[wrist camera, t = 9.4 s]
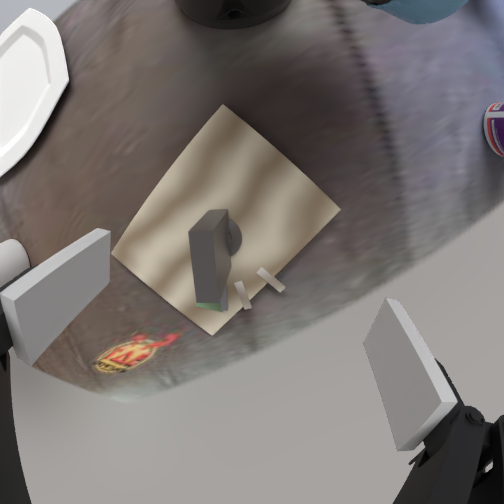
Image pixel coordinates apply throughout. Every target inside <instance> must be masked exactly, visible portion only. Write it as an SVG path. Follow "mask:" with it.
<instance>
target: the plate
mask: <svg viewBox="0 0 504 504" xmlns="http://www.w3.org/2000/svg"><path fill="white" fill-rule="evenodd" d="M68 82H69V75H68V69H67V63H66V58H65V53H64V48H63V44H62V41H61V37H60V35H59V32H58V30H57V27H56V26H55V24H54V23H53V22H52V21H51V20H50V19H49V18H48V17H46V16H45V15H44V14H42V13H40V12H38V11H37V10H34V9H32V8H29V9H27V10H26V11H25V12H24V13H23V14H22V15H20V16H19V17H18V18H17V19H16V20H15V21H14V22H13V23H12V24H11V25H10V26H9V27H8V28H7V29H6V30H5V31H4V32H3V33H2V34H1V35H0V177H1V176H2V175H4V174H5V173H6V172H7V171H8V170H9V169H11V168H12V167H13V166H14V165H15V164H16V163H17V162H18V161H19V160H20V159H21V158H22V157H23V156H24V155H25V154H26V153H27V152H28V150H29V149H30V148H31V147H32V145H33V144H34V142H35V141H36V139H37V138H38V136H39V135H40V133H41V132H42V130H43V128H44V126H45V124H46V123H47V121H48V119H49V117H50V116H51V114H52V112H53V110H54V108H55V106H56V104H57V102H58V101H59V99H60V97H61V95H62V93H63V91H64V90H65V88H66V86H67V84H68Z"/></svg>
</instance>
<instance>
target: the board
mask: <svg viewBox="0 0 504 504" xmlns="http://www.w3.org/2000/svg"><path fill="white" fill-rule="evenodd" d="M217 209H228V218H229V232H230V233H231V235H232V243H231V246H230V250H231V265H232V267H231V270H230V273H229V276H228V279H227V295H228V307H229V308H228V311H221V301H220V303H197V302H196V295H195V287H194V279H193V271H192V263H191V254H190V245H189V235H188V231H189V230H190V229H191V228H192V227H193V226H194V225H195V224H196V223H197V222H198V221H199V220H200V219H201V218H202V217H203V215H204V214H205V213H206V212H207V211H208V210H217ZM340 210H341V209H340V208H339V207H338V206H337V205H336V204H335V203H334V202H333V201H332V200H331V199H330V198H329V197H328V196H327V195H326V194H325V193H324V192H323V191H322V190H321V189H320V188H319V187H317V186H316V185H315V184H314V183H313V182H312V181H311V180H310V179H309V178H308V177H307V176H306V175H305V174H304V173H303V172H302V171H301V170H299V169H298V168H297V167H296V166H295V165H294V164H293V163H292V162H291V161H290V160H288V159H287V158H286V157H285V156H284V155H283V154H282V153H281V152H280V151H278V150H277V149H276V148H275V147H274V146H273V145H272V144H270V143H269V142H268V141H267V140H266V139H265V138H263V137H262V136H261V135H260V134H259V133H258V132H256V131H255V130H254V129H253V128H252V127H250V126H249V125H248V124H247V123H246V122H244V121H243V120H242V119H241V118H240V117H238V116H237V115H236V114H235V113H233V112H232V111H231V110H230V109H228V108H227V107H226V106H225V105H223V104H222V105H221V107H220V108H219V109H218V110H217V111H216V112H215V113H214V115H213V116H212V117H211V118H210V119H209V120H208V121H207V123H206V124H205V125H204V126H203V127H202V129H201V130H200V131H199V132H198V133H197V135H196V136H195V137H194V138H193V139H192V141H191V142H190V143H189V144H188V146H187V147H186V148H185V149H184V151H183V152H182V153H181V154H180V156H179V157H178V158H177V159H176V161H175V162H174V163H173V165H172V166H171V167H170V168H169V170H168V171H167V172H166V174H165V175H164V176H163V178H162V179H161V180H160V182H159V183H158V185H157V186H156V187H155V189H154V190H153V191H152V193H151V194H150V196H149V197H148V198H147V200H146V201H145V203H144V204H143V206H142V207H141V208H140V210H139V211H138V213H137V214H136V216H135V217H134V219H133V220H132V222H131V223H130V225H129V226H128V228H127V229H126V231H125V232H124V234H123V235H122V237H121V238H120V240H119V242H118V243H117V245H116V246H115V248H114V249H113V251H112V253H111V254H112V255H113V256H114V257H116V258H117V259H118V260H119V261H120V262H121V263H122V264H123V265H125V266H126V267H127V268H128V269H129V270H130V271H131V272H133V273H134V274H135V275H136V276H137V277H138V278H140V279H141V280H142V281H143V282H144V283H146V284H147V285H148V286H149V287H150V288H152V289H153V290H154V291H155V292H156V293H158V294H159V295H160V296H161V297H163V298H164V299H165V300H166V301H168V302H169V303H170V304H171V305H173V306H174V307H175V308H176V309H178V310H179V311H180V312H181V313H183V314H184V315H185V316H187V317H188V318H189V319H190V320H192V321H193V322H194V323H196V324H197V325H198V326H200V327H201V328H202V329H204V330H205V331H206V332H208V333H209V334H210V335H213V334H215V333H216V332H217V331H218V330H219V329H220V328H221V327H222V326H223V325H224V324H225V323H226V322H227V321H228V320H229V319H230V318H232V317H233V316H234V315H235V314H236V313H237V312H238V311H239V310H240V309H241V308H242V307H244V309H245V310H246V309H250V308H252V305H251V303H250V299H251V298H252V297H254V296H255V295H256V294H257V293H258V292H259V291H260V290H261V289H262V288H263V287H264V286H265V285H266V284H267V283H269V284H270V285H271V286H273V287H274V288H275V289H276V290H277V291H279V292H281V291H282V290H283V289H284V288H285V286H284V285H283V284H282V283H281V282H279V281H278V280H277V279H276V278H275V277H274V276H275V275H276V274H277V273H278V272H279V271H280V270H281V269H282V268H283V267H284V266H285V265H286V264H287V263H288V262H289V261H290V260H291V259H292V258H293V257H294V256H295V255H296V254H297V253H298V252H299V251H300V250H301V249H302V248H303V247H304V246H305V245H306V244H307V243H308V242H309V241H310V240H311V239H312V238H313V237H314V236H315V235H316V234H317V233H318V232H319V231H320V230H321V229H322V228H323V227H324V226H325V225H326V224H327V223H328V222H329V221H330V220H331V219H332V218H333V217H334V216H335V215H336V214H337V213H338V212H339V211H340Z"/></svg>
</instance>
